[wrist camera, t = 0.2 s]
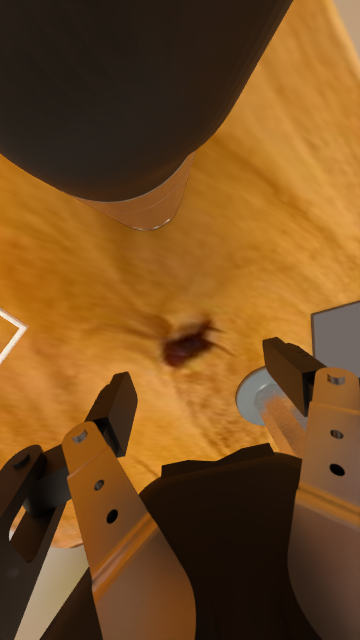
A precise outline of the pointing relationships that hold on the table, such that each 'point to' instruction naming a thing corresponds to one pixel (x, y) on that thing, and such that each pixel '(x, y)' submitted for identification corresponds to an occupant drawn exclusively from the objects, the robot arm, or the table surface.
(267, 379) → the grey pot lid
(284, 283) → the table surface
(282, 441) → the steel canister
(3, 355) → the white rectangular frame
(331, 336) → the rubber mat
